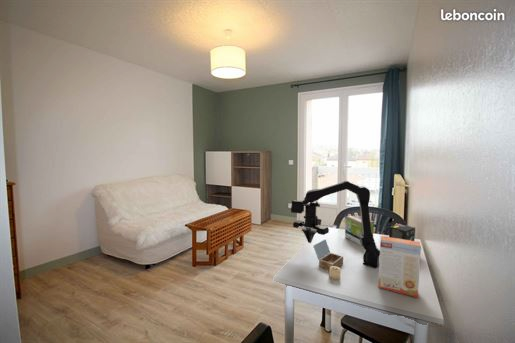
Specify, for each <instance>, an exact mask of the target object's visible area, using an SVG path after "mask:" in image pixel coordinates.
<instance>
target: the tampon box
mask: <svg viewBox="0 0 515 343" xmlns="http://www.w3.org/2000/svg"><path fill="white" fill-rule="evenodd" d="M388 230H389V232H388V235H389V236H388V237H391V238H398V239H404V240H410V241H415V238H416V237H415V236H416V227H414V226H410V225H406V224H402V223H398V224H394V225H391V226H389V229H388Z"/></svg>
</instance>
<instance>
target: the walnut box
mask: <svg viewBox="0 0 515 343" xmlns="http://www.w3.org/2000/svg"><path fill="white" fill-rule="evenodd" d="M343 263H344V256H342V255H340V254H337V253H333V252H330V253H329V254H327V255H326V256H324V257H323V258H321V259H319V260H318V267H319V268H322V269H324V270H326V271H329V269H330V267H331V266H336V267H339V268H340V266H342V265H343Z"/></svg>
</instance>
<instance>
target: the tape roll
mask: <svg viewBox="0 0 515 343" xmlns="http://www.w3.org/2000/svg"><path fill="white" fill-rule="evenodd" d="M328 271H329V273H328V278H330V279H332V280H334V281H340V279H341V274H342V271H341V268H340V266H339V267H336V266H331V267H330V269H329V270H328Z"/></svg>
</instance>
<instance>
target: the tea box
mask: <svg viewBox="0 0 515 343" xmlns="http://www.w3.org/2000/svg"><path fill="white" fill-rule="evenodd" d="M370 224H371V232H372V235H373V236H374V231H375V228H374V226H375V221H373V220H372V219H370ZM344 228H345V229H344V237H345V238H347V239H348V240H350V241H352V242H354V243H355V244H357V245H358V246H362V245H361V243H360V236H359V234H362V222H361V215H358V214H356V215H347V216H345V226H344Z"/></svg>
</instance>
